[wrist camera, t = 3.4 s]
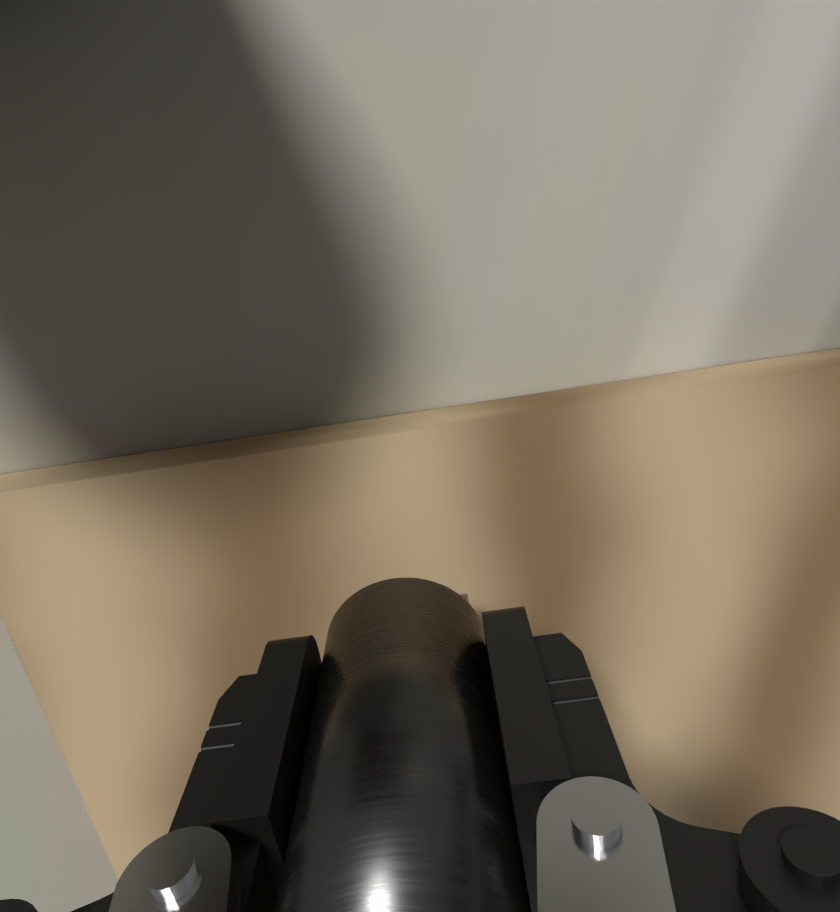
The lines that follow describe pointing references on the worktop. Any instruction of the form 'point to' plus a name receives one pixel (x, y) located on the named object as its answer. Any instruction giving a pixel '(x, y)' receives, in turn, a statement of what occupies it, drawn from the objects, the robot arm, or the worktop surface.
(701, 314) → the worktop surface
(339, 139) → the worktop surface
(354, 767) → the lever
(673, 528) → the press base
